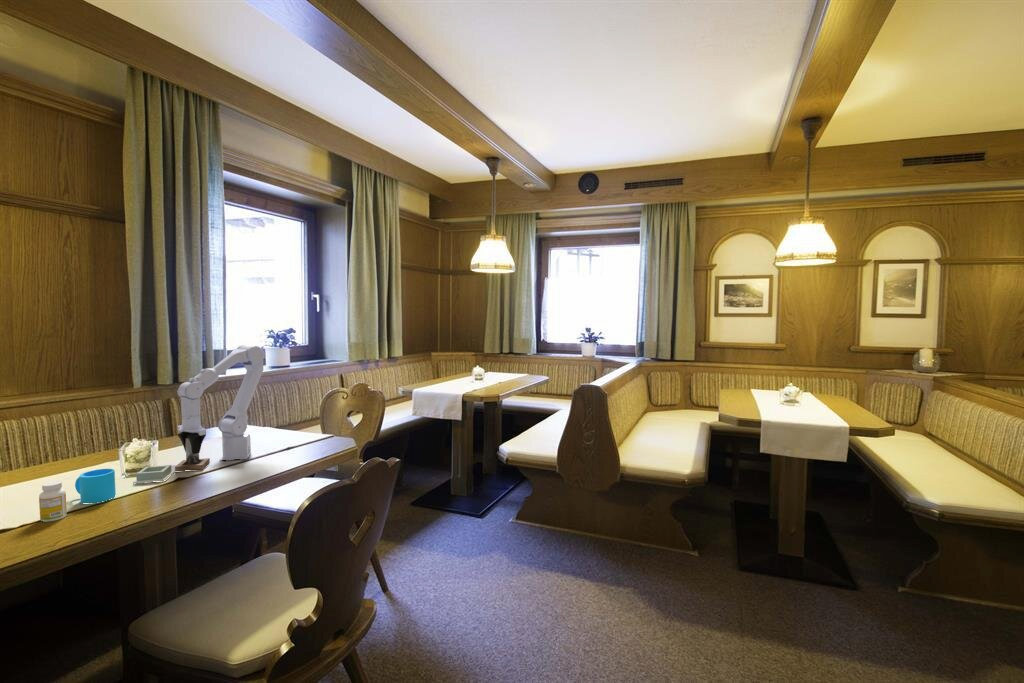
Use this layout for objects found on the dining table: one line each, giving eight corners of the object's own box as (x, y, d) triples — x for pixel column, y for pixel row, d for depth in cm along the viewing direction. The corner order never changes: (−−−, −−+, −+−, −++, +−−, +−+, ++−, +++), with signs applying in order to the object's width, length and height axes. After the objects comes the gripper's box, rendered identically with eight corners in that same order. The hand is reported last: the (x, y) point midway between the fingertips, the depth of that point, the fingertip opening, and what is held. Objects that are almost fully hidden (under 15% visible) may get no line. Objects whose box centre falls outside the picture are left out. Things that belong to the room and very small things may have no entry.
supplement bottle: (51, 514, 140) (49, 480, 139) (72, 513, 140) (70, 479, 139) (34, 522, 134) (32, 487, 134) (56, 522, 135) (54, 486, 134)
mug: (122, 495, 154) (121, 469, 154) (96, 505, 146) (95, 478, 146) (90, 492, 156) (89, 467, 156) (62, 502, 148) (61, 475, 148)
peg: (200, 459, 184) (199, 435, 184) (197, 463, 180) (196, 438, 180) (188, 460, 183) (187, 436, 182) (184, 463, 179) (183, 439, 179)
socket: (209, 463, 187) (209, 458, 187) (202, 470, 179) (202, 464, 179) (183, 465, 185) (183, 460, 184) (174, 472, 176) (174, 466, 176)
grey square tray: (174, 473, 175) (174, 464, 175) (164, 481, 167) (164, 472, 166) (144, 475, 173) (144, 466, 173) (133, 484, 164) (132, 474, 164)
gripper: (168, 415, 181) (169, 452, 181) (191, 419, 174) (192, 458, 174) (188, 411, 187) (189, 447, 188) (211, 415, 180) (212, 453, 181)
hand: (192, 452), depth 181 cm, fingers closed on peg, 4 cm apart
